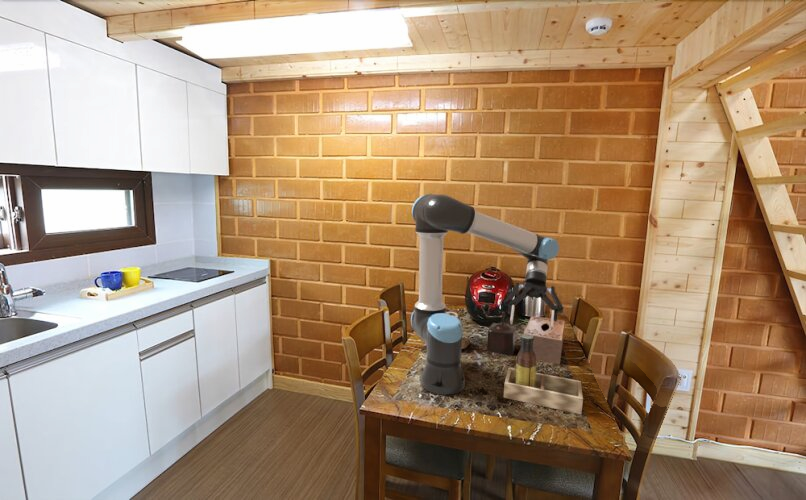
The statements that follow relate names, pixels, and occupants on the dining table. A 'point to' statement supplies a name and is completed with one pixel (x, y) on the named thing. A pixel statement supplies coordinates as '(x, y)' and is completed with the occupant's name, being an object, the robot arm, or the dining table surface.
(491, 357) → the dining table surface
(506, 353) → the manual coffee grinder
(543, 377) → the birch caddy
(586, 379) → the dining table surface
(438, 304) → the robot arm
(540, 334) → the tissue box cover
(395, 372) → the dining table surface
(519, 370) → the sauce bottle
